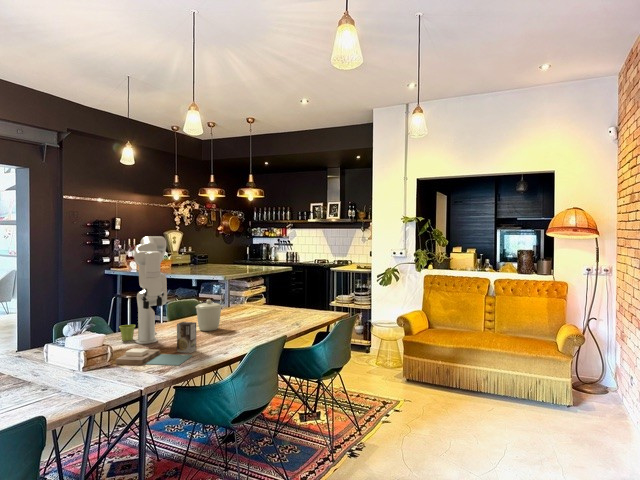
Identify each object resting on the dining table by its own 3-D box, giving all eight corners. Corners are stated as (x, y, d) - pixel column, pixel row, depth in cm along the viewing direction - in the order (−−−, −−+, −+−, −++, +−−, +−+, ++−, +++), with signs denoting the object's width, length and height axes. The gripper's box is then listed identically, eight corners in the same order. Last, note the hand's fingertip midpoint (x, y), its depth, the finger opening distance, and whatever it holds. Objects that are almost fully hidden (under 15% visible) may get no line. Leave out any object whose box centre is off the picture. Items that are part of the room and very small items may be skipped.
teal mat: (160, 354, 240) (160, 354, 240) (192, 355, 239) (192, 355, 239) (144, 364, 223) (144, 363, 223) (178, 365, 221) (178, 364, 221)
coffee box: (196, 350, 250) (197, 322, 250) (190, 353, 244) (190, 324, 244) (182, 349, 253) (183, 321, 253) (176, 352, 247) (176, 323, 246)
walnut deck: (135, 353, 243) (135, 348, 243) (159, 354, 242) (159, 349, 242) (115, 363, 223) (115, 359, 223) (141, 364, 222) (141, 359, 222)
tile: (132, 352, 236) (132, 348, 236) (148, 352, 235) (148, 348, 235) (125, 355, 229) (125, 351, 229) (141, 356, 228) (141, 352, 228)
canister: (225, 327, 313) (225, 297, 313) (217, 332, 295) (217, 301, 295) (201, 326, 315) (201, 297, 314) (191, 332, 297) (191, 301, 296)
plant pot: (129, 342, 268) (129, 327, 268) (115, 341, 270) (115, 327, 270) (138, 338, 277) (138, 324, 277) (125, 337, 279) (125, 324, 279)
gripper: (158, 273, 241) (158, 304, 242) (135, 276, 225) (134, 309, 226) (169, 274, 239) (169, 305, 239) (146, 276, 223) (146, 310, 223)
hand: (152, 307), depth 232 cm, fingers open, 9 cm apart
